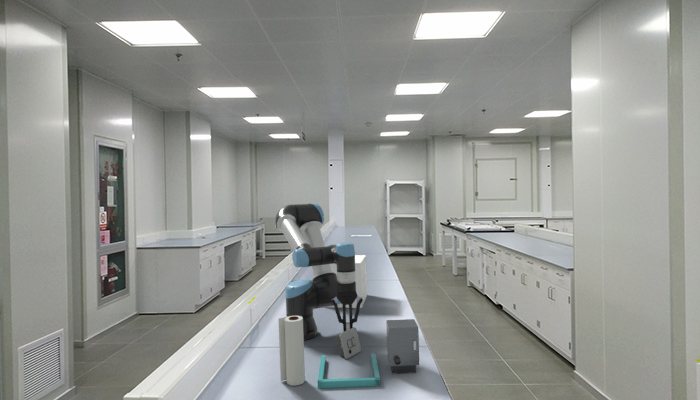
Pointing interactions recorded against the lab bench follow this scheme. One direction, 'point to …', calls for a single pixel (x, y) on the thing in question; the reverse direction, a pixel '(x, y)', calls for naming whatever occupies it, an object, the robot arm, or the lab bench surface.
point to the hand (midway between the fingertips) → (348, 339)
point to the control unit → (403, 345)
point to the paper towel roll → (292, 350)
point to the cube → (357, 279)
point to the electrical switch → (348, 343)
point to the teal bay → (350, 381)
